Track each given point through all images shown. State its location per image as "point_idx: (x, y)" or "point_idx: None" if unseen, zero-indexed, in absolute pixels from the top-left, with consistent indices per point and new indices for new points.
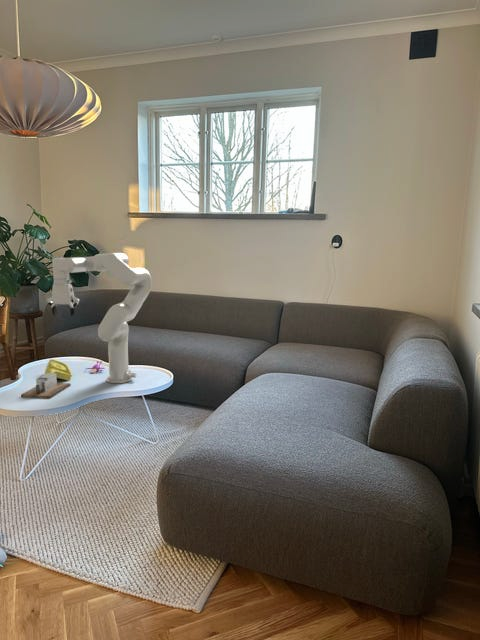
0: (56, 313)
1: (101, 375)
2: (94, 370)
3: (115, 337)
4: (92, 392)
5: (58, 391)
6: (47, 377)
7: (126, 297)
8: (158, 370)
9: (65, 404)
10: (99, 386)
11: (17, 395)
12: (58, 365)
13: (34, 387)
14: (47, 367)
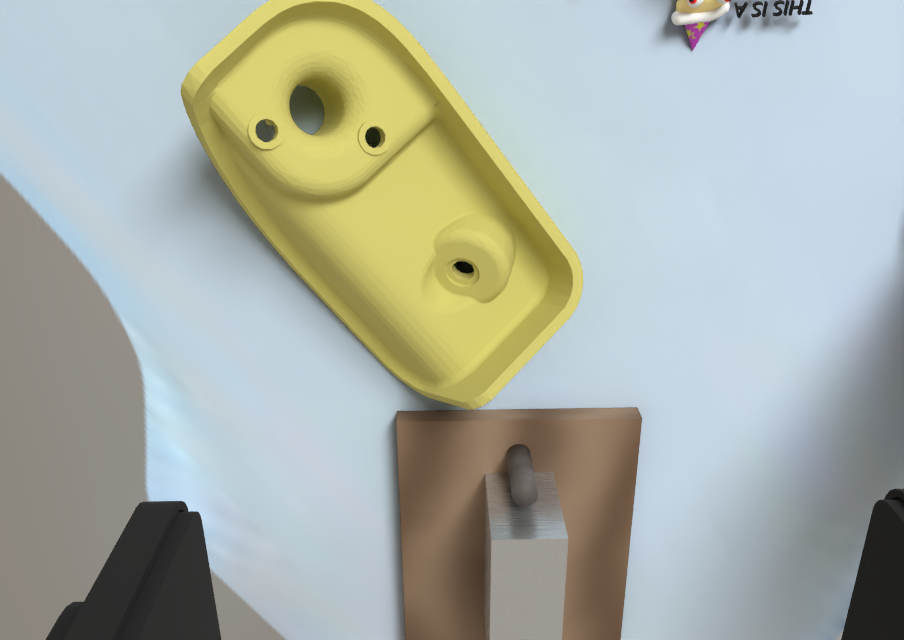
0: (194, 588)
1: (818, 80)
2: (724, 3)
3: None
4: (866, 513)
5: (625, 566)
6: (555, 637)
7: None
8: None
9: None
10: (885, 390)
11: (359, 622)
12: (303, 69)
13: (405, 535)
14: (222, 155)
